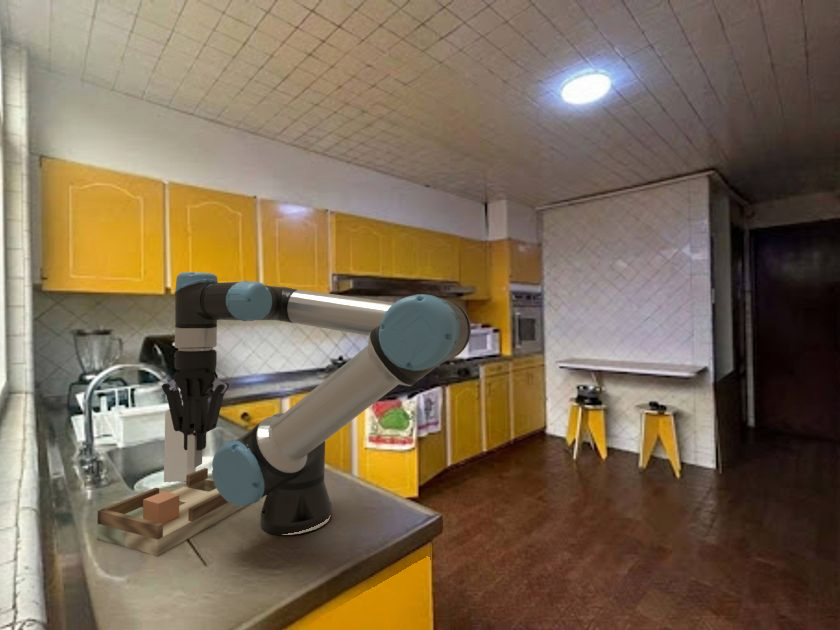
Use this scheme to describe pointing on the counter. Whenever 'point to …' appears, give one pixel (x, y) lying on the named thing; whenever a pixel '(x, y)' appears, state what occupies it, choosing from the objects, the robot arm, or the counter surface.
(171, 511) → the block
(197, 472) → the box
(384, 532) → the counter surface
